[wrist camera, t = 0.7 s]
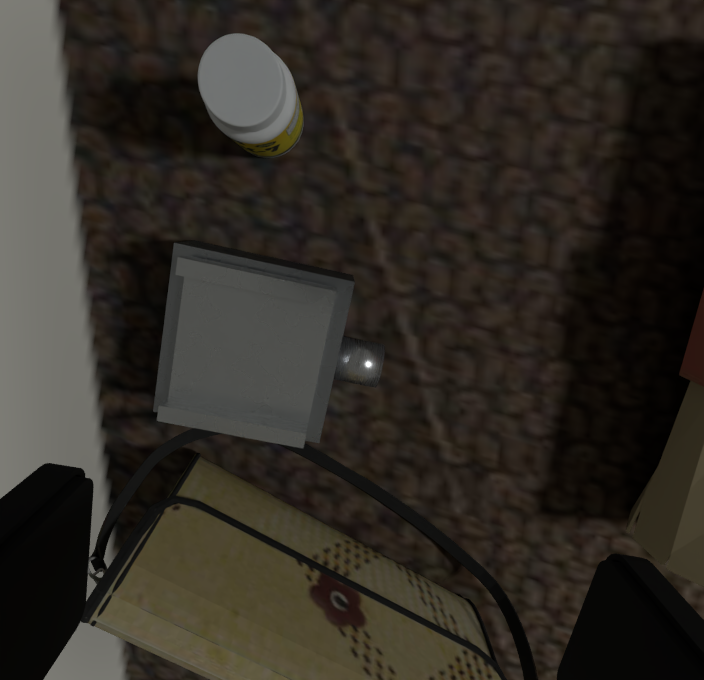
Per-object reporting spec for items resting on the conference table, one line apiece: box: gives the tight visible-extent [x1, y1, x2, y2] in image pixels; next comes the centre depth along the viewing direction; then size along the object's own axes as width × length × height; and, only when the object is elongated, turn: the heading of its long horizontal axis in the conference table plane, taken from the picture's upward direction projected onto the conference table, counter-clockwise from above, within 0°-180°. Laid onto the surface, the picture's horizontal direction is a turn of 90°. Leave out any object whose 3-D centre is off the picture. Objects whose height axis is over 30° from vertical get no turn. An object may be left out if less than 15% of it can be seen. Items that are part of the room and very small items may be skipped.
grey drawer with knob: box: [153, 241, 385, 448], centre depth 30 cm, size 11×14×6 cm
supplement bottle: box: [198, 34, 304, 158], centre depth 25 cm, size 5×5×8 cm
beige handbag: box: [81, 428, 538, 680], centre depth 29 cm, size 30×7×15 cm, turn 57°
